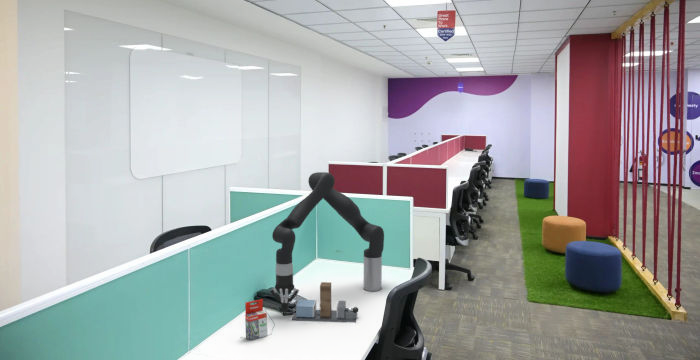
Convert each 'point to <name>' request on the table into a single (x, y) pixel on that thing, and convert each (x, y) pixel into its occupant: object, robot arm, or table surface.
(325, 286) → the walnut block
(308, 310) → the sliding jaw
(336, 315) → the vise
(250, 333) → the ink box
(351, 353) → the table surface
